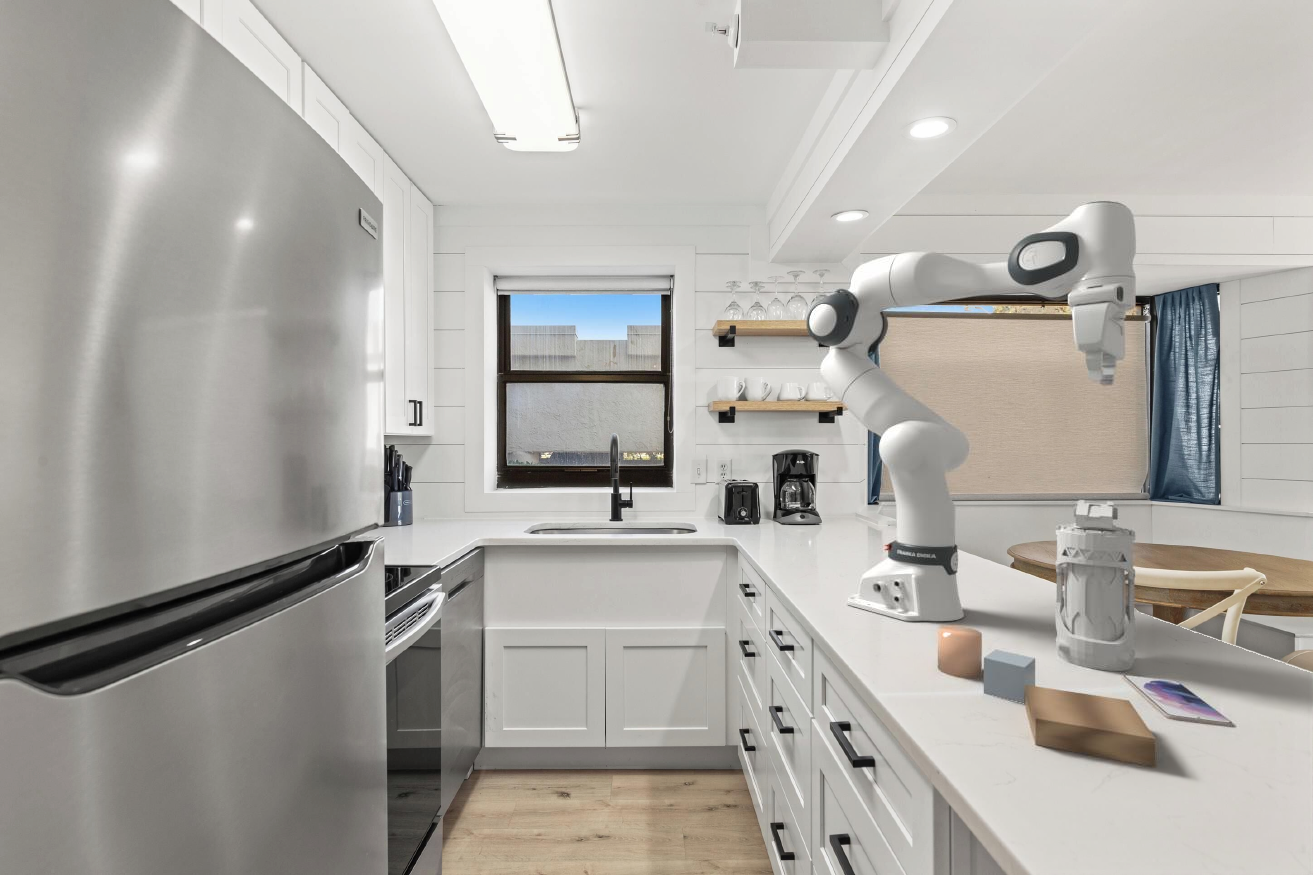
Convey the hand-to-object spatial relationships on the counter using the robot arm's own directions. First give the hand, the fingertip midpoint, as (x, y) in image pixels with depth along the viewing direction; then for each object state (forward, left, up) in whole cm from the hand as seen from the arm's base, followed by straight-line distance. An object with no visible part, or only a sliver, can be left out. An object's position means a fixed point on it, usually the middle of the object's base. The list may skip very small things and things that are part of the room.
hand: (1101, 383), depth 103 cm
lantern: (0, -4, -45) cm, 45 cm away
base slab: (+5, -37, -45) cm, 58 cm away
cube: (-5, -30, -45) cm, 54 cm away
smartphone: (+11, -16, -45) cm, 49 cm away
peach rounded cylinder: (-13, -26, -45) cm, 53 cm away
